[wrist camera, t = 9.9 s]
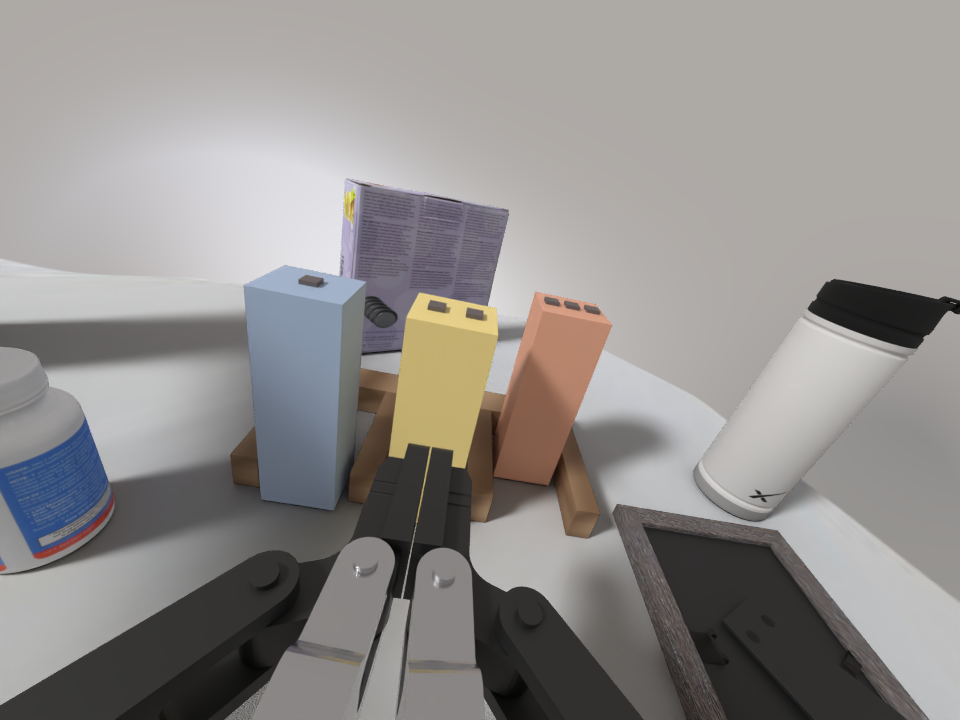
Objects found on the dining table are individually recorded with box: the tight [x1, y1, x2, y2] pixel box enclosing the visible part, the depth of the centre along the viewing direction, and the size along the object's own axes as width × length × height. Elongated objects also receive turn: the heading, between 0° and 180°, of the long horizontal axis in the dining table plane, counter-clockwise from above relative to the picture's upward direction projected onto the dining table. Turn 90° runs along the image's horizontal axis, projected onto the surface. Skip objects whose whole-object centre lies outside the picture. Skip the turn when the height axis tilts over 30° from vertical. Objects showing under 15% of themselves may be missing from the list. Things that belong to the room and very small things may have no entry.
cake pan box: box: [340, 178, 509, 353], centre depth 44 cm, size 19×5×18 cm, turn 123°
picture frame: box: [612, 504, 929, 720], centre depth 21 cm, size 13×2×18 cm
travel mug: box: [693, 279, 960, 521], centre depth 29 cm, size 6×7×20 cm
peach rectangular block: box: [492, 292, 612, 485], centre depth 28 cm, size 4×4×14 cm
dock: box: [230, 368, 600, 538], centre depth 30 cm, size 24×13×2 cm, turn 89°
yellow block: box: [389, 293, 498, 523], centre depth 23 cm, size 4×4×14 cm
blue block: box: [244, 265, 366, 511], centre depth 22 cm, size 4×4×14 cm
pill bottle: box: [0, 347, 115, 574], centre depth 18 cm, size 6×5×10 cm
